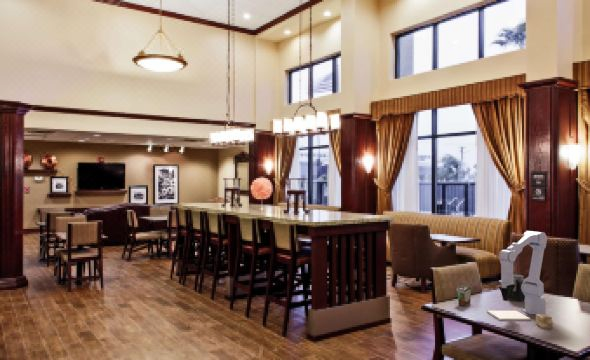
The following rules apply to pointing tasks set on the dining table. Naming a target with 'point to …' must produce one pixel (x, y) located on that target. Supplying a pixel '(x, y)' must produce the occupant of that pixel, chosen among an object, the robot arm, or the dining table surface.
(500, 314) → the painted board
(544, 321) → the oak cube
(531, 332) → the dining table surface
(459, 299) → the food container
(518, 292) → the milk frother
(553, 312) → the dining table surface
